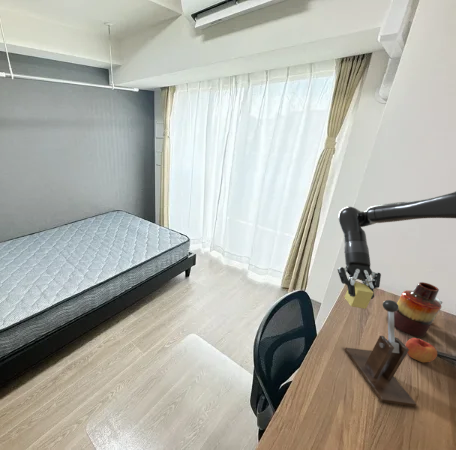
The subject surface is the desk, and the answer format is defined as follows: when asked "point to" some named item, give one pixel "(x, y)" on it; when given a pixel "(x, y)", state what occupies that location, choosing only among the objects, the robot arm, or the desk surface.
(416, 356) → the apple
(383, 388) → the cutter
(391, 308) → the ball knob lever
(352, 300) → the butter
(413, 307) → the vase
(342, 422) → the desk surface
